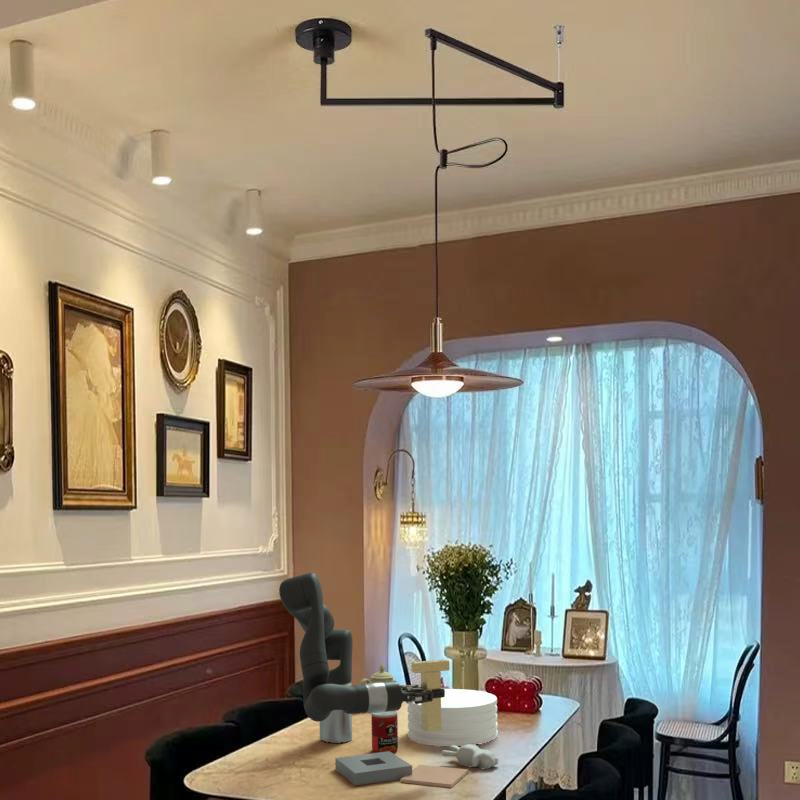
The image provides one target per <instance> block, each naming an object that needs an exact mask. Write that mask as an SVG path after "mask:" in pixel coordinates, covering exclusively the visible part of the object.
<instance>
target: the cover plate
mask: <svg viewBox="0 0 800 800" xmlns="http://www.w3.org/2000/svg"><path fill="white" fill-rule="evenodd" d="M334 768H335V771H337V772H338V771H339V772H340V773H339V772H338V773H339V774H340V775H342V776H343V777H345V778H346V779H347V780H348V781H349V782H351V784H353V785H354V786H359V785H360V786H361V785H368V784H375V783H376V784H377V783H381V782H382V783H384V782H389V781H396V780H397V781H398V780H401V778H403V777H404V776H405V775H410V774H412V770H413V765H412V764H410V763H409V762H407V761H406V760H404V759H403V758H401V757H399V756H398V755H396V754H395V753H391V752H390V751H387V752H379V753H374V752H372V753H364V754H356V755H351V756H350V755H349V756H342V757H336V758H335V767H334Z"/></svg>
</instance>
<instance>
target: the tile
mask: <svg viewBox="0 0 800 800" xmlns="http://www.w3.org/2000/svg"><path fill="white" fill-rule="evenodd" d="M468 772H469V769H468V768H466V769H465V768H456V767H447V766H436V765H435V766H434V765H427V764H426V765H425V764H418V765H417V766H416V767H415V768H414V769H413V768H412V774H410V775H405V776H404V777H403V778H401V779H400V783H405V784H415V785H423V786H434V787H439V788H440V787H443V788H453V787H454V786H455V785H456V784H457V783H459V782H460V781H461V780H462V779H463V778H465V776H466V775H468V774H469V773H468ZM461 778H462V779H461ZM459 780H460V781H459Z"/></svg>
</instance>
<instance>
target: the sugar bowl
mask: <svg viewBox="0 0 800 800" xmlns="http://www.w3.org/2000/svg"><path fill="white" fill-rule="evenodd" d="M385 670H386V667H385V665H384V664H380V666H379V671H377V672H375V673H373V674H372V675H371V676H370V678H371V679H369V678H362V679H361V680H360V681H359V684H358V685H364V684H369V683H375V682H386V681H395V680H394V677H395V675H393V674H392V673H391V672H387V671H385Z"/></svg>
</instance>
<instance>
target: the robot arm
mask: <svg viewBox="0 0 800 800" xmlns="http://www.w3.org/2000/svg"><path fill="white" fill-rule="evenodd" d="M278 590H279V591H278V592H279V593H278V594H279V597H280V600H281V603H282V604H283V607H284V609H285V610H286V611H287V612H288V613H289V615H292V616H293V618H294V619H295V620H297V622H298V624H299V625H300V627H301V629H303V631H304V635H303V638H302V640H301V643H300V647H299V661H300V666H301V667H300V669H301V674H302V678H303V679H302V692H303V693H302V694H303V695H302V698H303V702H302V703H303V707H304V711H305V714H306V716H307V717H308V718H309V719H310V720H311V721H313V722H319V741H321V740H323V742H324V741H326V742H325V743H328V742H331V743H330V744H342V743H341V742H343V743H347V741H348V742H350V741H352V740H353V715H356V714H357V715H358V714H365V713H370V714H372V713H378V712H388V711H396V712H397V711H399V710H401V707H402V704H403V703H406V704H409V703H413V702H415V704H420V703H425V702H431V701H433V698H442V697H445V690H444V689H445V688H442V687H441V689H427V690H423V688H421V685H419V684H402V685H401V684H400V683H399V681H396V680H394V681H386V682H375V683H369V684H367V683H364V685H359V684H354V685H353V684H352V681H353V679H352V678H353V677H352V675H353V673H352V671H353V669H352V668H353V667H352V666H353V646H354V645H353V635H352V632H351V630H349V629H334V628H335V619H334V616H333V614H332V612H331V611H330V610H329V608H328V607H327V605H326V604H324V598H323V597H324V595H323V590H322V585H321V583H320V579H319V578H318V575H316V573H314V572H309V573H308V572H307V573H303V574H301V575H297V576H293V577H289V578H286V579H285V580H283V581H281V583H280V585H279V588H278ZM328 661H340V662H339V665H338V666H336V667H335V668H332V669H330V667H329V662H328ZM427 694H428V697H427Z"/></svg>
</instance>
